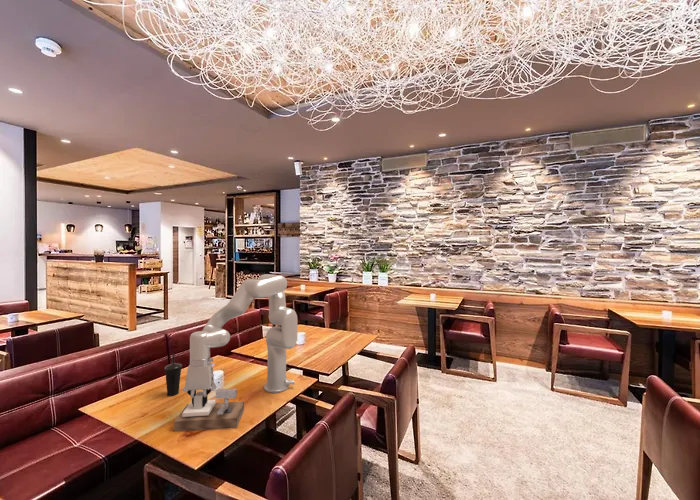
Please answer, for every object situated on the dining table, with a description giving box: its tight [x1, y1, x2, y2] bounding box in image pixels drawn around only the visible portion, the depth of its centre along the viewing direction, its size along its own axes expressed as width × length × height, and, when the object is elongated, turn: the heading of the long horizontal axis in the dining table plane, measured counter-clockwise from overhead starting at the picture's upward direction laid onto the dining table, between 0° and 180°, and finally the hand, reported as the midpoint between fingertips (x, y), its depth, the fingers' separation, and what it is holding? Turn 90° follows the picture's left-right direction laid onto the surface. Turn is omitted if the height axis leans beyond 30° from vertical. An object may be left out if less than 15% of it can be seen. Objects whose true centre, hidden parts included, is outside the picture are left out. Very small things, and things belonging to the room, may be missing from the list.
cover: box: [182, 391, 217, 417], centre depth 131 cm, size 10×10×6 cm
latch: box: [215, 388, 238, 414], centre depth 130 cm, size 8×8×8 cm
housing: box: [173, 401, 245, 433], centre depth 132 cm, size 24×14×4 cm, turn 97°
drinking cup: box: [164, 353, 183, 397], centre depth 155 cm, size 8×8×20 cm
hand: (199, 404), depth 131 cm, fingers closed on cover, 3 cm apart
